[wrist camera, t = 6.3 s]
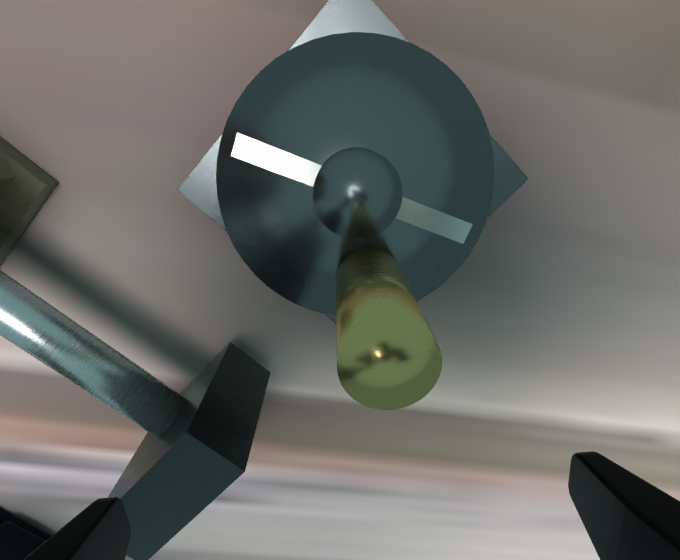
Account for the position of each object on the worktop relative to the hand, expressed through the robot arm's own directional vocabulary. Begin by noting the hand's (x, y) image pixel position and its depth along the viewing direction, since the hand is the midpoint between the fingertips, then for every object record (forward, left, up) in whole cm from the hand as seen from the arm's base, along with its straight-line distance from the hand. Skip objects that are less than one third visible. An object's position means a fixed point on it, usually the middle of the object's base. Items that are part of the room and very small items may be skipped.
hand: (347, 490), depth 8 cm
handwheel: (+4, +3, -10) cm, 11 cm away
